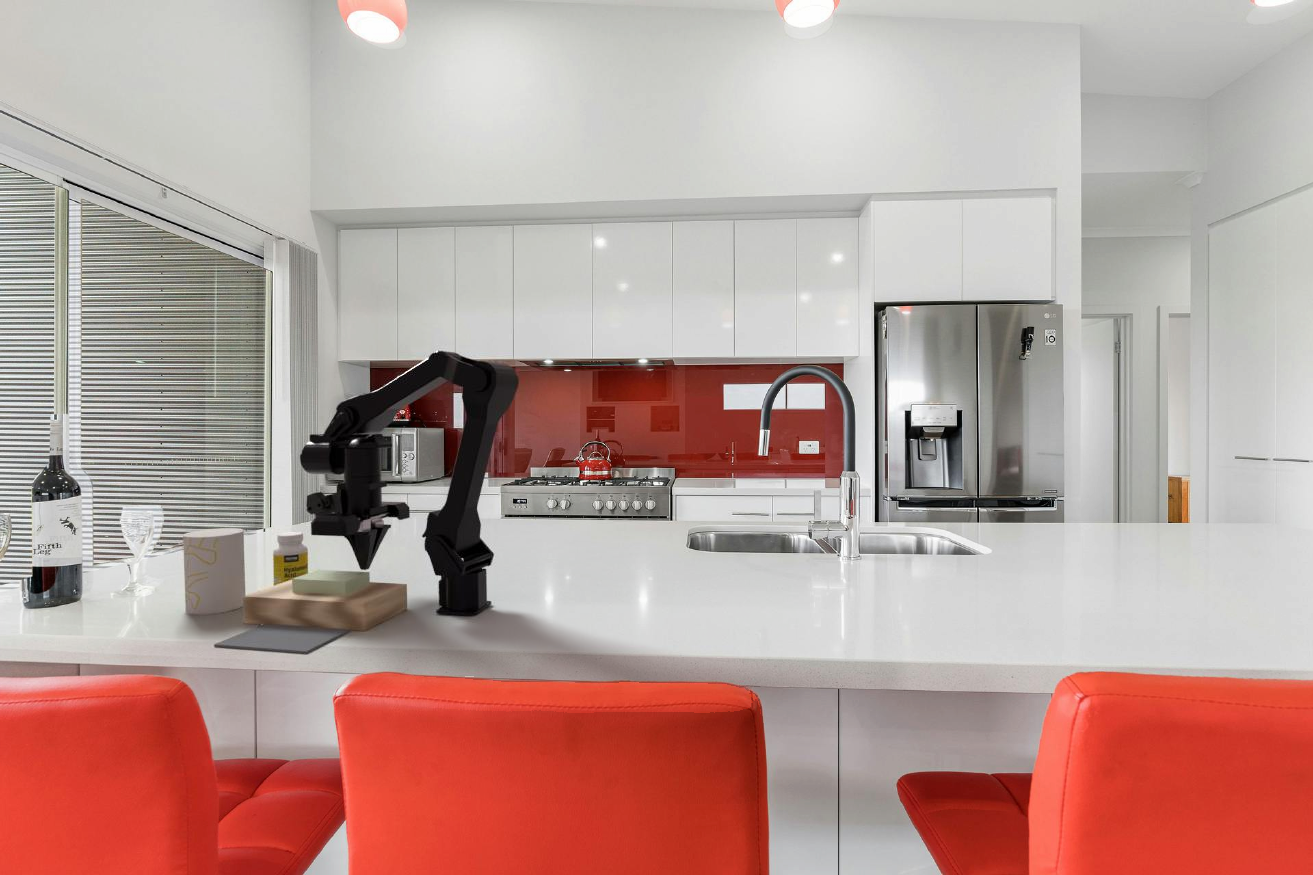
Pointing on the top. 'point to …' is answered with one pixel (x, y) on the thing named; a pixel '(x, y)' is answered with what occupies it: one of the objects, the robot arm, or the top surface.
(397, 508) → the robot arm
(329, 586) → the pale green foam block
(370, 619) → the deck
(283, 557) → the supplement bottle
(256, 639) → the mat
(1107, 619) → the top surface
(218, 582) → the cup
